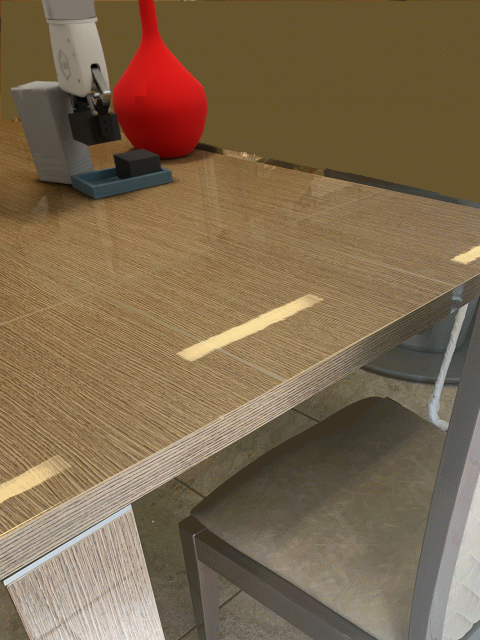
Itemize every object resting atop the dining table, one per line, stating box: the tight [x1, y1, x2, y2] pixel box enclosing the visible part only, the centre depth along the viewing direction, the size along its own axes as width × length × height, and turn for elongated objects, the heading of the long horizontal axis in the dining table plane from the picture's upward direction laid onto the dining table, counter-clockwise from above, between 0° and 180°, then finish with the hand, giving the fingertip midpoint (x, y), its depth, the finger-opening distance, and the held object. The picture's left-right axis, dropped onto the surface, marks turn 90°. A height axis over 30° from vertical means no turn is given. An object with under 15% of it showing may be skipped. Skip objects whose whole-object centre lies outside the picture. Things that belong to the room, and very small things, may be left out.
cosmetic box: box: [10, 80, 96, 185], centre depth 113 cm, size 8×7×16 cm
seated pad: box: [112, 149, 162, 180], centre depth 116 cm, size 6×6×4 cm
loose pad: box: [68, 110, 122, 147], centre depth 108 cm, size 6×6×4 cm
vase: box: [111, 0, 209, 159], centre depth 124 cm, size 18×18×30 cm
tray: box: [70, 165, 174, 200], centre depth 115 cm, size 15×9×2 cm, turn 131°
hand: (96, 135), depth 108 cm, fingers closed on loose pad, 6 cm apart
